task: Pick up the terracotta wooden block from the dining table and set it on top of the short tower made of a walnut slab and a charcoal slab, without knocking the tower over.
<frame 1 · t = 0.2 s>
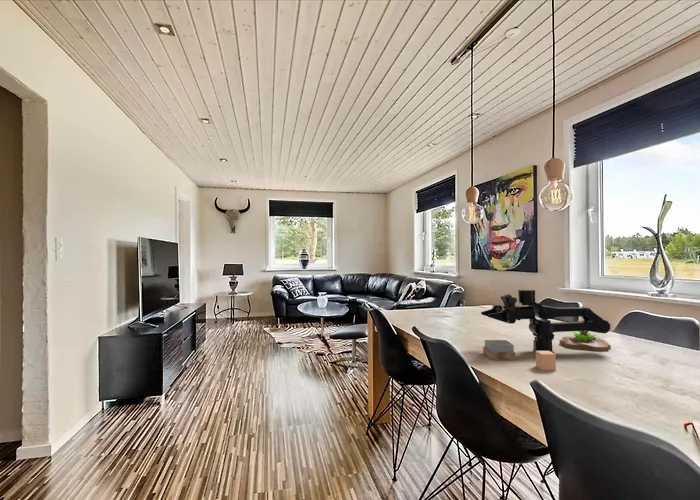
hand: (484, 314, 159), 17 cm above the table, fingers open, 9 cm apart
plant: (584, 346, 168), on the table
terracotta block: (545, 368, 134), on the table
tower top: (498, 349, 151), point 3 cm above the table, touching tower base
tower base: (498, 357, 151), on the table, touching tower top
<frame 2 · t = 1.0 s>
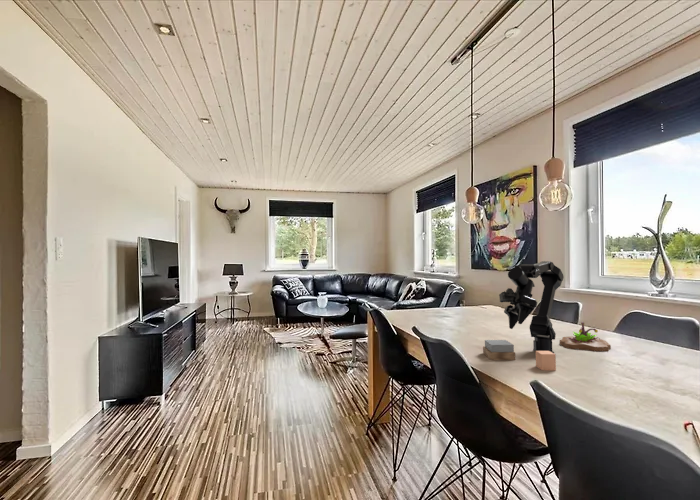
hand: (515, 326, 141), 15 cm above the table, fingers open, 9 cm apart
nothing on the table moved.
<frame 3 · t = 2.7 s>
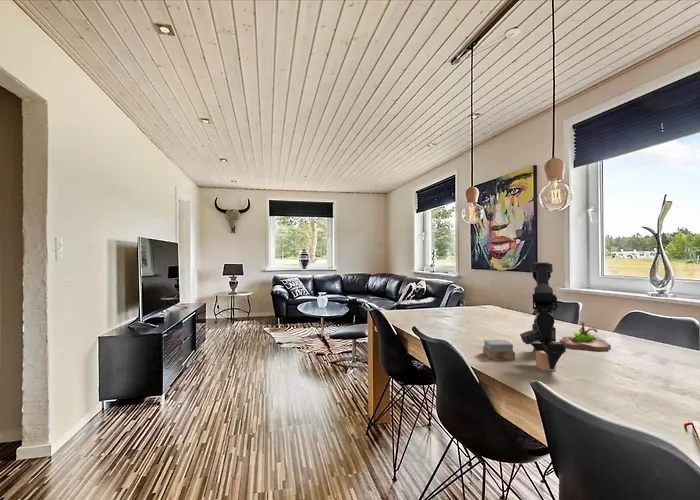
hand: (545, 365, 134), 1 cm above the table, fingers open, 9 cm apart
tower top: (498, 349, 151), point 3 cm above the table
tower base: (498, 357, 151), on the table
everything else where it was.
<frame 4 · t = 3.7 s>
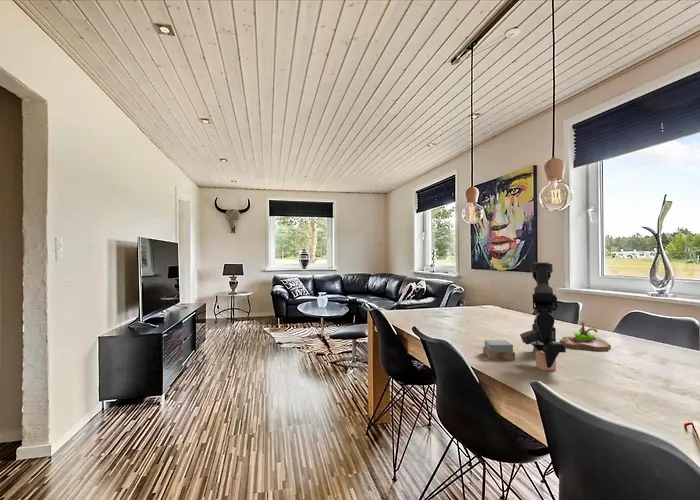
hand: (545, 365, 134), 1 cm above the table, fingers closed on terracotta block, 5 cm apart
terracotta block: (545, 368, 134), on the table, touching gripper
tower top: (498, 349, 151), point 3 cm above the table, touching tower base
tower base: (498, 357, 151), on the table, touching tower top
everything else where it was.
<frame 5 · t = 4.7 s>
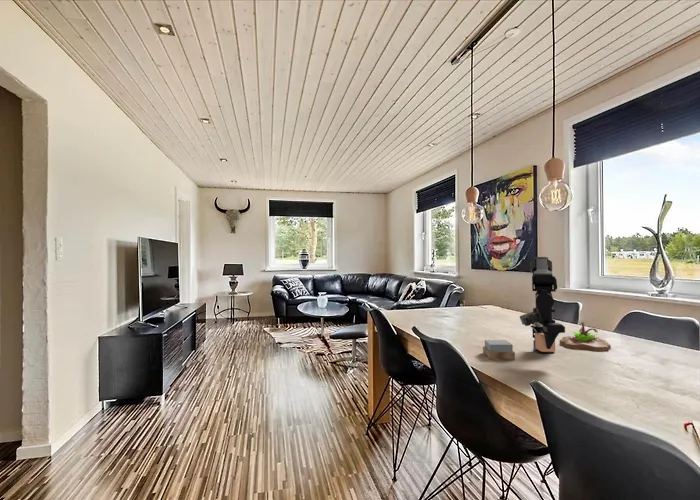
hand: (545, 347, 134), 8 cm above the table, fingers closed on terracotta block, 5 cm apart
terracotta block: (545, 349, 134), point 7 cm above the table, touching gripper
everything else where it was.
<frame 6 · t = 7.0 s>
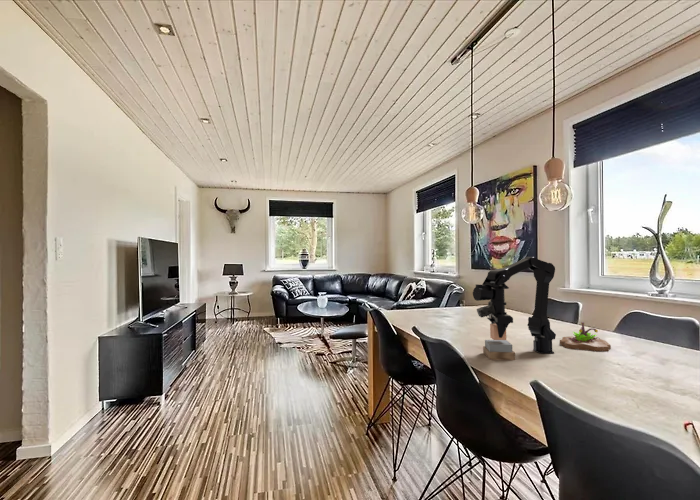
hand: (498, 336, 151), 9 cm above the table, fingers closed on terracotta block, 5 cm apart
terracotta block: (498, 338, 151), point 7 cm above the table, touching gripper
everything else where it was.
when the fingers open (8 cm above the table, at t = 7.7 s): terracotta block drops 1 cm, resting on tower top.
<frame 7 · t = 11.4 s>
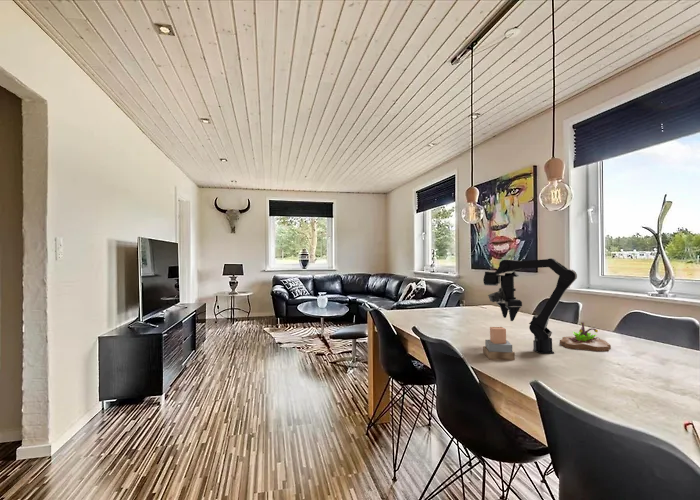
hand: (508, 319, 167), 13 cm above the table, fingers open, 9 cm apart
terracotta block: (498, 342, 151), point 6 cm above the table, touching tower top
tower top: (498, 349, 151), point 3 cm above the table, touching terracotta block, tower base
everything else where it was.
at the end: terracotta block 0.1 cm off-centre on the tower top, point 3.0 cm above the tower top's base; tower top 0.1 cm off-centre on the tower base, point 3.5 cm above the tower base's base; the gripper is holding nothing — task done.
